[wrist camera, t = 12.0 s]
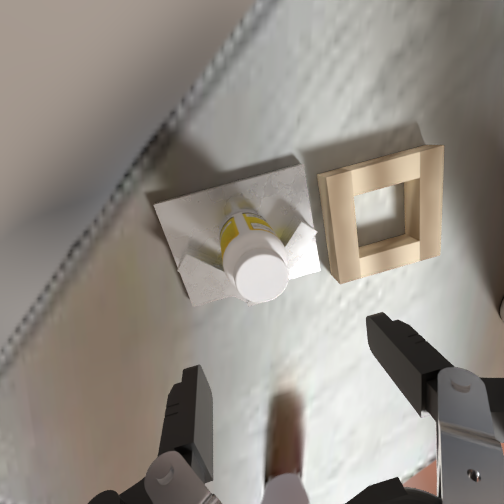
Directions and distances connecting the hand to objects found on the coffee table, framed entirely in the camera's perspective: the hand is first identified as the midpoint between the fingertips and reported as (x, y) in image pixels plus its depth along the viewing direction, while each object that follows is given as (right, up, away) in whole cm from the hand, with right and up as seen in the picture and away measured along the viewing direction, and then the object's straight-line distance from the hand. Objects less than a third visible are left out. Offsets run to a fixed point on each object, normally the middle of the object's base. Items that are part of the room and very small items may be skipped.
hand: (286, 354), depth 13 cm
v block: (-3, +7, +17) cm, 18 cm away
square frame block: (+12, +9, +18) cm, 24 cm away
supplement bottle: (-2, +7, +16) cm, 18 cm away
